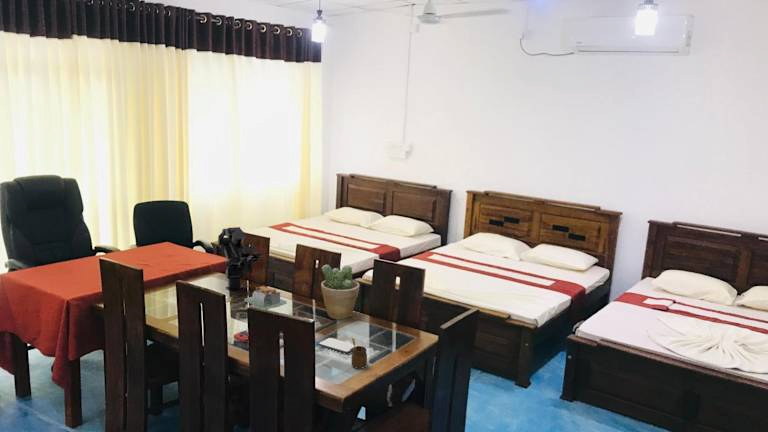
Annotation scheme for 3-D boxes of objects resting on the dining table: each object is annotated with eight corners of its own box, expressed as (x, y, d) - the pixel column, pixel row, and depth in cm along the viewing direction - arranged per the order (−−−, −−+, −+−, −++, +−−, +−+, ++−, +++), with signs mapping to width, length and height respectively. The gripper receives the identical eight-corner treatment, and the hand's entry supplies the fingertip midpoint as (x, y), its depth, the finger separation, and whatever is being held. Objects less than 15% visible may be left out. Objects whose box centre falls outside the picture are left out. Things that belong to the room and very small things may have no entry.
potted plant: (346, 306, 287) (348, 258, 282) (366, 318, 272) (368, 267, 267) (314, 312, 277) (314, 262, 272) (332, 324, 262) (333, 272, 257)
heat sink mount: (244, 301, 289) (244, 286, 287) (264, 295, 299) (264, 281, 297) (265, 309, 278) (265, 294, 277) (286, 303, 288) (286, 289, 286)
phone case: (316, 347, 238) (347, 356, 229) (316, 343, 238) (347, 352, 229) (329, 340, 245) (360, 349, 237) (329, 336, 245) (360, 345, 237)
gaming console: (276, 319, 261) (290, 324, 255) (276, 325, 261) (290, 329, 255) (231, 333, 243) (245, 338, 237) (231, 339, 244) (245, 344, 237)
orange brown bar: (257, 290, 289) (257, 287, 289) (261, 289, 291) (261, 286, 291) (272, 294, 282) (272, 290, 281) (276, 293, 284) (276, 289, 283)
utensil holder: (369, 366, 220) (370, 337, 218) (356, 370, 216) (357, 340, 214) (361, 361, 225) (362, 332, 223) (347, 364, 221) (348, 335, 219)
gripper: (230, 242, 286) (243, 268, 282) (259, 237, 301) (273, 261, 296) (220, 254, 293) (233, 280, 288) (250, 249, 307) (263, 273, 302)
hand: (251, 273), depth 293 cm, fingers closed
